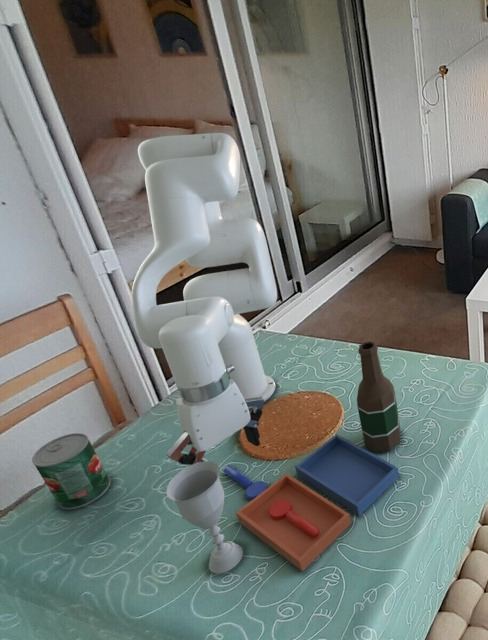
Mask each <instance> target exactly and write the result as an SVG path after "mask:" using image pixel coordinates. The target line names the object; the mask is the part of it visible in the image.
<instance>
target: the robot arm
mask: <svg viewBox="0 0 488 640" xmlns="http://www.w3.org/2000/svg"><path fill="white" fill-rule="evenodd" d="M137 155H138V158H139V161H140V164H141V165H142V167H143V168H144V170H145V173H144V182H145V189H146V196H147V201H148V202H147V203H148V208H149V215H150V220H151V226H152V234H153V240H154V245H153V248H152V250H151V251H150V252H149V254H148V255H147V256H146V257H145V259H144V260H143V262H142V263H141V264H140V266H139V268H138V270H137V271H136V274H135V277H134V280H133V283H132V288H131V303H132V309H133V310H132V311H133V317H134V323H135V328H136V332H137V335H138V338H139V339H140V341H141V342H142V344H143V345H145V346H146V347H148V348H151V349H162V351H163V354H164V357H165V360H166V362H167V365H168V367H169V370H170V373H171V375H172V378H173V381H174V382H175V385H176V388H177V392H178V393H179V396H180V397H178V398H177V399H176V402H175V403H176V413H177V414H176V415H177V419H178V424H179V428H180V431H181V434H182V435H180V437H179V438H178V439H177V440H176V442H175V443H174V444H173V445H172V446H171V447H170V449H168V451H167V452H166V454H165V455H166V457H168V458H169V459H171V460H172V461H175V462H177V463H178V464H180V465H188V466H190V465H193V464H195V463H199V462H204V461H205V460H203V458H204V456H205V454H206V451H208V450H209V449H211V448H213V447H215V446H216V445H218V444H220V443H221V442H223V441H225V440H226V439H228V438H229V437H231V436H232V435H234V434H236V433H237V432H238V431H240V430H241V429H243V430H244V431H243V432H244V433H245V437H246V440H247V442H249V443H250V444H251V445H253V446H255V447H259V446H261V442H260V437H261V435H260V433H259V429H258V427H259V426H260V423H259V421H260V419H261V417H262V415H263V409H264V405H265V402H266V401H267V400H269V398H271V396H273V394H274V392H275V390H276V382H275V380H274V378H272V376H269V375H266V373H265V371H264V367H263V363H262V360H261V357H260V353H259V350H258V346H257V343H256V339H255V335H254V332H253V329H252V326H251V325H250V323H249V322H248V321H247V319H246V318H244V317H243V316H242V315H240V314H244V313H250V312H251V313H252V312H255V311H261V310H265V309H269V308H271V307H273V306H275V304H276V302H277V300H278V289H277V284H276V279H275V275H274V274H275V273H274V270H273V265H272V261H271V260H272V259H271V256H270V251H269V247H268V241H267V238H266V235H265V232H264V229H263V228H262V225H261V224H260V223H259V222H258V220H256V219H254V218H251V217H240V218H239V217H238V218H233V219H232V218H230V219H224V218H223V214H222V211H221V207H220V202H222V201H229V200H233V199H235V198H236V197H237V195H238V194H239V191H240V182H241V181H240V179H241V154H240V149H239V147H238V144H237V142H236V141H235V139H234V138H233V137H232V136H231V135H229V134H228V133H225V132H208V133H207V132H206V133H193V134H178V135H166V136H165V135H164V136H157V137H153V138H149V139H146V140H144V141H142V142H141V143H140V144H139V145H138V147H137ZM184 261H186V262H187V264H188V265H189V266H191V267H193V268H197V269H205V268H214V267H220V266H227V265H233V264H235V265H236V264H240V263H243V264H247V266H248V267H245V268H239V269H233V270H226V271H218V272H212V273H206V274H202V275H199V276H196V277H194V278H191V279H190V280H189V281H187V282H186V284H185V285H184V288H183V291H182V294H183V295H182V296H183V300H180V301H174V302H169V303H162V304H157V289H158V287H159V285H160V282H161V281H162V280H163V278H164V277H165V276H166V275H167V274H168V273H169V272H170V271H171V270H172V269H173V268H175V267H177V266H178V265H179V264H181V263H183V262H184ZM250 409H251V412H250ZM187 446H189V449H188V451H187V453H182V452H183V451H184V450H185V448H186V447H187Z"/></svg>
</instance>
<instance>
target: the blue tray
mask: <svg viewBox="0 0 488 640" xmlns="http://www.w3.org/2000/svg"><path fill="white" fill-rule="evenodd" d="M294 469H295V472H296V475H297V477H298V478H300V479H301V480H302V481H304V482H306V483H307V484H309V485H311V486H312V487H313V488H315V489H316V490H318V491H320V492H322V493H323V494H324V495H326V496H328V497H329V498H331V499H332V500H334V501H336V502H337V503H339V504H340V505H342V506H343V507H345V508H347V509H348V510H350V511H351V512H353V513H354V514H356V515H358V516H359V517H360V516H361V515H362V514H363V513H364V512H365V511H366V510H367V509H368V508H369V507H370V506H372V504H373V503H374V502H376V501H377V499H378V498H380V497H381V495H382V494H384V492H386V491H387V489H388V488H389V487H391V485H393V484H394V483H395V482H396V480H398V479H399V478H400V473H399V468H398V466H396V465H394V464H392V463H391V462H389V461H388V460H387V461H386V460H385V459H383V458H381V457H379V456H378V455H377V454H374V453H372V452H370V451H368V450H367V449H365V448H363V447H361V446H360V445H358V444H355V443H354V442H352V441H351V440H349V439H347V438H345V437H343V436H341V435H340V434H337V433H336V434H335V435H334V436H332V437H331V438H329V440H327V441H326V442H325V443H323V444H321V446H319V447H318V448H317V449H316V450H314V451H313V452H312V453H310V454H309V455H308V456H307V457H305V458H304V459H302V461H300V462H299V463H298V464H296V465H295V466H294Z"/></svg>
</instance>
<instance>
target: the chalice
mask: <svg viewBox="0 0 488 640" xmlns="http://www.w3.org/2000/svg"><path fill="white" fill-rule="evenodd" d="M203 461H204V462H199V463H195V464H193V465H188V466H187V467H185V468H183V469H181V470H180V471H179V472H178V473H176V474H175V475H174V476H173V477H172V478H171V480H170V481H169V483H168V485H167V486H166V495H167V498H168V499H170V500H172V501H174V502H175V503H174V504H176V507H177V510H178V512H179V514H180V516H181V517H182V519H183V520H185V521H186V522H188V523H189V524H191V525H193V526H195V527H197V528H200V529H203V530H209V534H208V535H209V536H210V537H213V538H212V540H211V543H212V545H216V546H215V547H214V548H213V549H212V551H211V553H210V558H209V563H208V569H209V571H210V572H211V573H213V574H219V575H220V574H223V573H227V572H229V571H231V570H232V569H234V568H235V567H236V566H237V565H238V564H239V563H240V561H241V560H242V559H243V556H244V549H243V547H242V546H241V545H239V544H237V543H235V542H233V541H231V540H227V541H224V540H225V534H223V533H220V532H221V527H220V526H218V525H217V524H218V523H219V522H220V520H221V518H222V517H221V516H222V513H223V509H224V506H225V490H224V487H223V485H222V483H221V480H220V477H219V476H220V473H221V472H220V467H219V465H218V464H217V463H216V462H214V461H209V460H208V461H205V460H203Z"/></svg>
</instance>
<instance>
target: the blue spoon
mask: <svg viewBox="0 0 488 640" xmlns="http://www.w3.org/2000/svg"><path fill="white" fill-rule="evenodd" d="M223 472H224V473H225V474H226V475H227V476H229V477H230V478H231V479H233V480H234V481H235V482H237V483H238V484H240V485H241V486H243V487H244V488H246V490H245V495H246V498H247V499H248V500H249V501H252V500H253V499H254V498H256V497H257V496H258V495H259V494H261V493H262V492H263V491H265V490H266V489H267V488H268V487H269V486H268V484H267V482H265V481H263V480H258V481H254V482H253V481H252V479H251V478H249V477H247V476H246V475H245V474H244V473H242V472H240V471H239V470H237V469H236V468H235V467H233V466H232V465H226V466H225V467H224V469H223Z"/></svg>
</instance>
